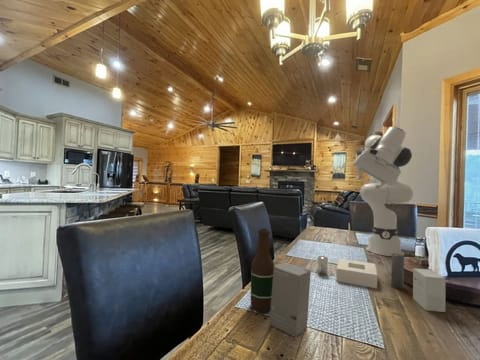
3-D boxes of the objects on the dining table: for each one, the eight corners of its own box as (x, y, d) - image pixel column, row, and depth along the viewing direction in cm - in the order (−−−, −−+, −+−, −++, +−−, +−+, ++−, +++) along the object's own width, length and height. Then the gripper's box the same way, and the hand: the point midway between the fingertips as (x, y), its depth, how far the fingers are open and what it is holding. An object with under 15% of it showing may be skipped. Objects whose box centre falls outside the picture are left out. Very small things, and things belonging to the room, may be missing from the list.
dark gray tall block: (390, 283, 96) (391, 252, 96) (402, 285, 94) (403, 254, 94) (391, 287, 92) (392, 255, 92) (404, 289, 91) (405, 257, 91)
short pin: (318, 271, 108) (318, 255, 108) (327, 273, 106) (328, 256, 106) (316, 274, 104) (317, 257, 104) (326, 276, 102) (327, 259, 102)
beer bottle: (245, 303, 78) (247, 227, 78) (267, 299, 81) (268, 226, 81) (256, 316, 71) (258, 232, 71) (280, 311, 74) (281, 231, 74)
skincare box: (268, 325, 67) (270, 266, 67) (283, 315, 72) (284, 260, 72) (296, 339, 61) (297, 275, 61) (310, 327, 66) (311, 268, 66)
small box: (445, 313, 75) (446, 278, 75) (424, 310, 76) (425, 276, 76) (431, 300, 83) (431, 269, 83) (412, 298, 84) (412, 267, 84)
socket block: (339, 269, 110) (339, 258, 110) (374, 275, 104) (374, 263, 104) (336, 281, 97) (336, 268, 97) (377, 288, 91) (377, 274, 91)
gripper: (398, 170, 118) (384, 195, 117) (359, 149, 119) (345, 173, 119) (406, 168, 111) (391, 195, 111) (365, 146, 113) (350, 172, 113)
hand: (367, 184), depth 115 cm, fingers open, 8 cm apart
